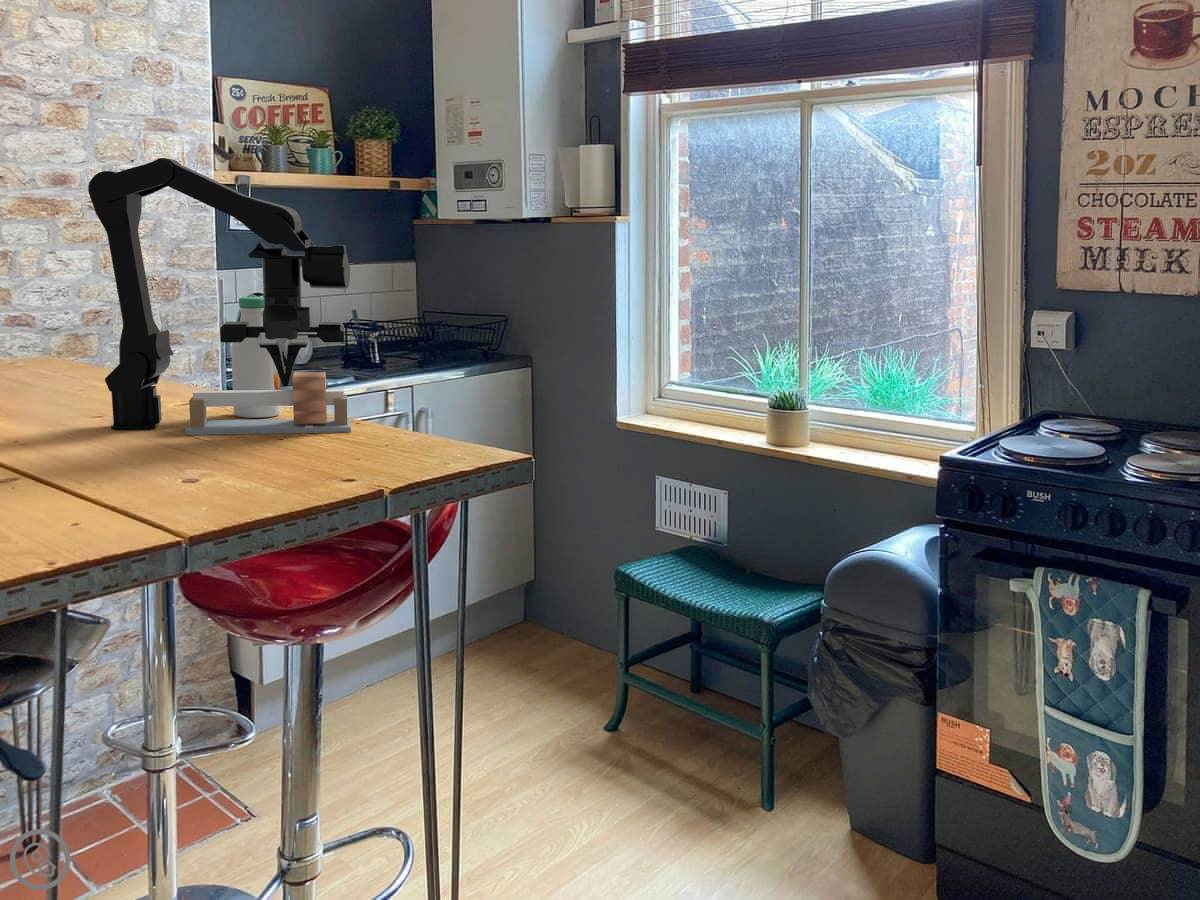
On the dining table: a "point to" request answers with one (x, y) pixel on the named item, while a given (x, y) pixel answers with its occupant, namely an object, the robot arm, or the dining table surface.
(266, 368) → the milk bottle
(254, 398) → the rail
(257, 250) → the robot arm
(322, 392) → the collar
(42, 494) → the dining table surface
